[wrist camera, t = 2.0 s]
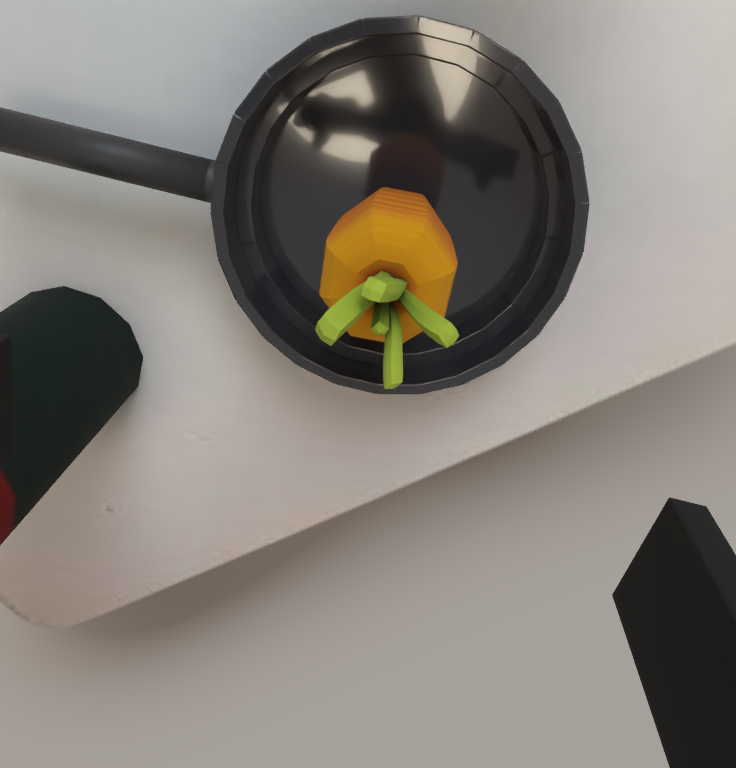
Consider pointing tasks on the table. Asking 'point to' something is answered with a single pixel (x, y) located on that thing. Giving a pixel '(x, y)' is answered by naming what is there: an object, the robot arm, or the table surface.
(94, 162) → the pan handle
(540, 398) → the table surface
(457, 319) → the pan
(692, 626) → the robot arm
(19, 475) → the wine bottle
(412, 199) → the carrot
